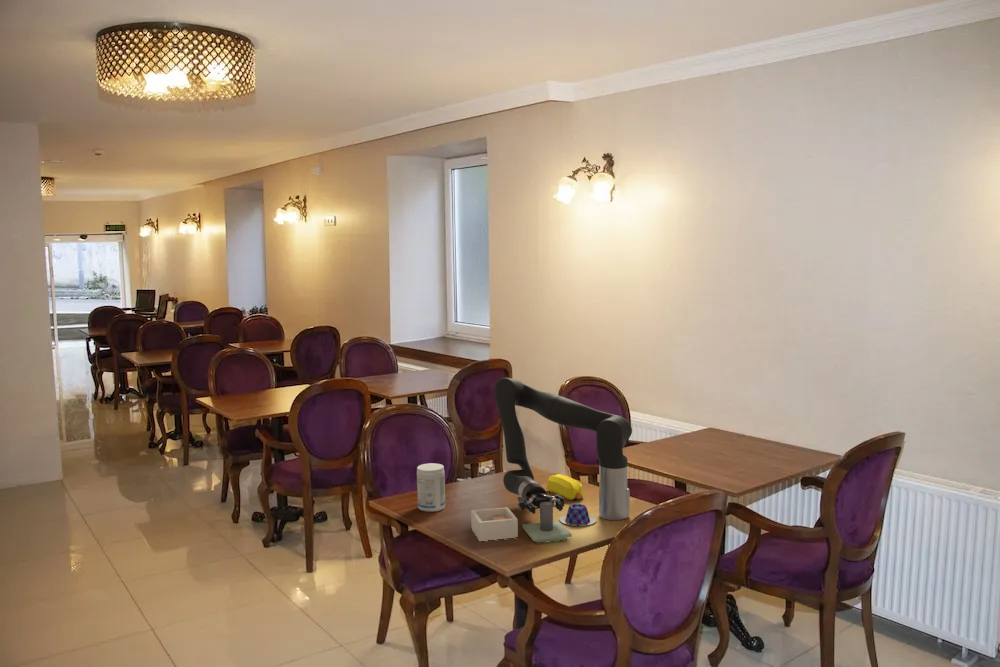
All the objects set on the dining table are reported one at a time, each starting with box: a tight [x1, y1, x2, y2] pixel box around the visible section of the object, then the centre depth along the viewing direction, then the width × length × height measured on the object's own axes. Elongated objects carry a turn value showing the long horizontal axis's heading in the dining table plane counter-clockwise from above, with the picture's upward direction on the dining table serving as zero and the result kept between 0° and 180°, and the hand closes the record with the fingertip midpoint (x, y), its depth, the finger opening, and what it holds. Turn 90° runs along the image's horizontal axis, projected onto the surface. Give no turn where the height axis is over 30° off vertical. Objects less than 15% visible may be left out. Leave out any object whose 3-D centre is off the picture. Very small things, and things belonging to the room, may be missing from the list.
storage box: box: [470, 506, 519, 542], centre depth 240 cm, size 12×12×6 cm
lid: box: [522, 502, 572, 543], centre depth 237 cm, size 12×12×10 cm
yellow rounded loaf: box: [545, 473, 584, 501], centre depth 279 cm, size 18×7×8 cm
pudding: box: [558, 503, 597, 527], centre depth 251 cm, size 12×12×5 cm
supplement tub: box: [416, 462, 446, 513], centre depth 265 cm, size 10×10×15 cm
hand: (547, 509), depth 235 cm, fingers open, 8 cm apart
